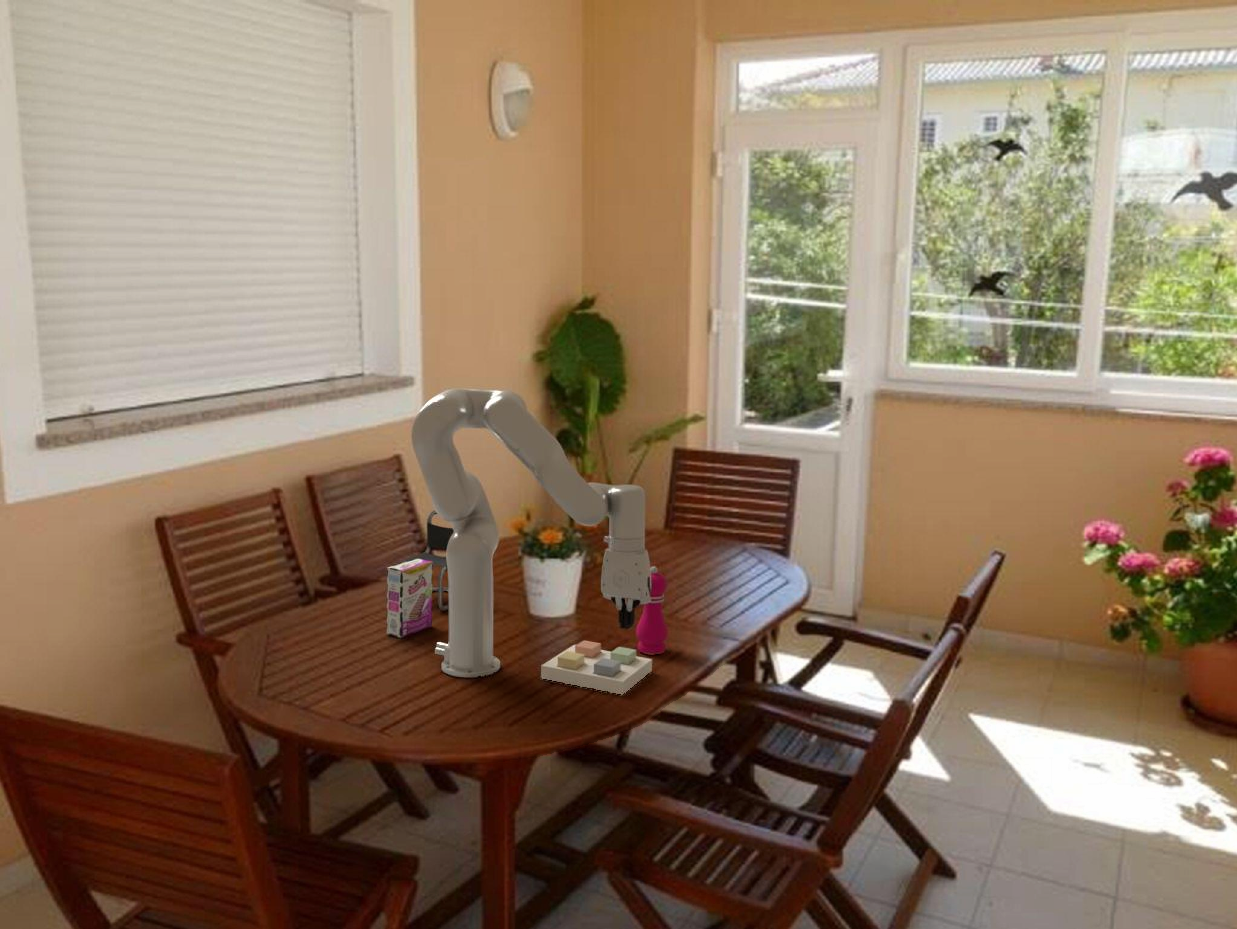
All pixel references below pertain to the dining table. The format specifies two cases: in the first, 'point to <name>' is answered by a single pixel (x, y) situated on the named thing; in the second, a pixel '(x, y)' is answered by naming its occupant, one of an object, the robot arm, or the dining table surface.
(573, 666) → the ochre button
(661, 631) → the pepper mill
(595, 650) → the terracotta button
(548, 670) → the console
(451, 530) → the chair
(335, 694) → the dining table surface
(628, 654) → the sage button
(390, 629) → the candy bar box
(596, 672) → the slate button
